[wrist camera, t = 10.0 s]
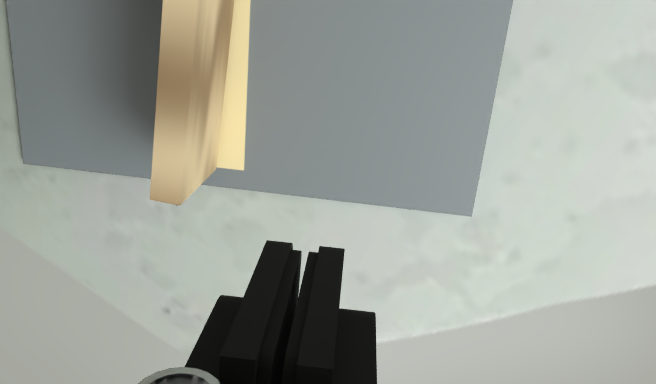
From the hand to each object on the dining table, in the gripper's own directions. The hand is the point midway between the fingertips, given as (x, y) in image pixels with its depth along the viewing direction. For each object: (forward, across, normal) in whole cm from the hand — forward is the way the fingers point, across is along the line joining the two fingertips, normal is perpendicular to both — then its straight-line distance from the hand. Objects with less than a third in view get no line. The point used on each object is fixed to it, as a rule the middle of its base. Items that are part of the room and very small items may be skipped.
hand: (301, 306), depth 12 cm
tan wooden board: (+14, +6, -4) cm, 16 cm away
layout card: (+15, +4, -4) cm, 16 cm away
